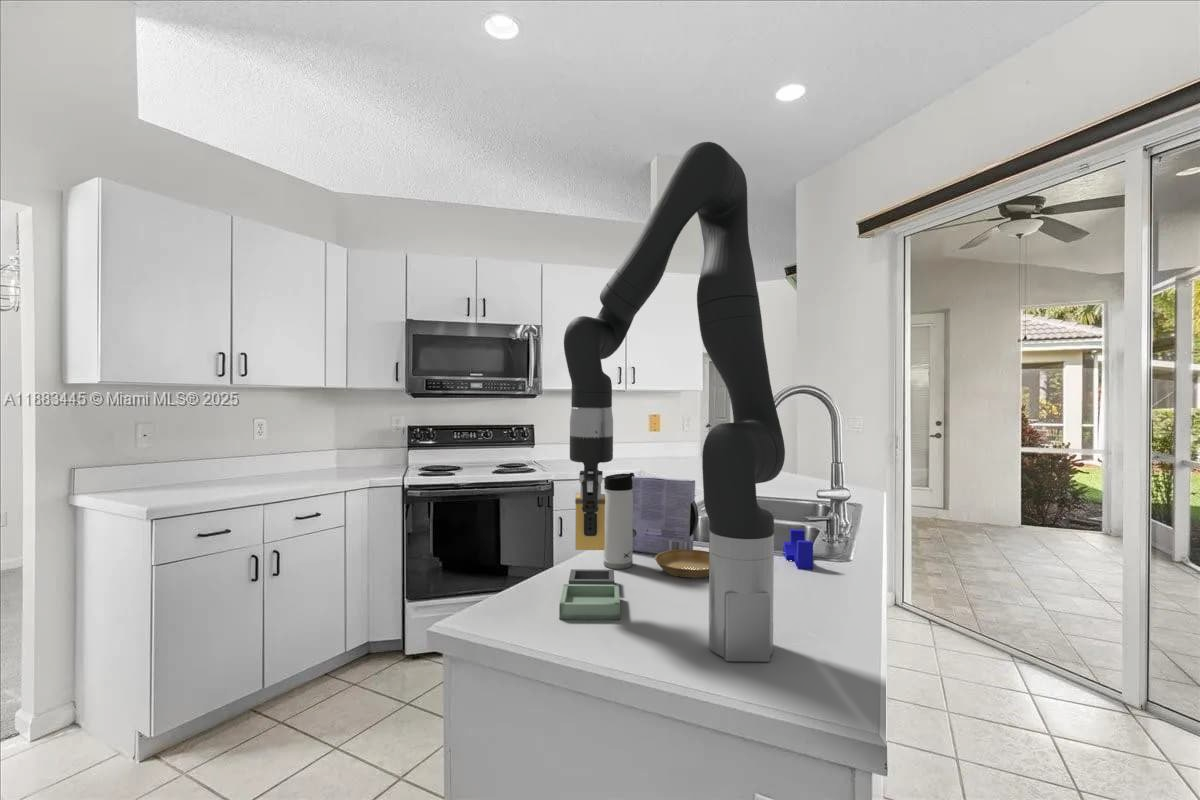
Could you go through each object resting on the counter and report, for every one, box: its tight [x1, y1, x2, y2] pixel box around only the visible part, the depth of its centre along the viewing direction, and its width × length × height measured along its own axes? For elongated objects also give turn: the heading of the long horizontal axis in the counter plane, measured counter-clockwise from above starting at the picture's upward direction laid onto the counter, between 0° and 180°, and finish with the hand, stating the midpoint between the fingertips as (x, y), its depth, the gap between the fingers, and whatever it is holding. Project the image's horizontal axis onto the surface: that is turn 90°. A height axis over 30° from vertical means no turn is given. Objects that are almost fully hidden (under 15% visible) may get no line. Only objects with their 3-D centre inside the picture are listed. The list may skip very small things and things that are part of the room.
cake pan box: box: [632, 474, 699, 555], centre depth 138 cm, size 19×5×18 cm, turn 70°
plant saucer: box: [654, 549, 709, 579], centre depth 124 cm, size 15×15×3 cm
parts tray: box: [558, 583, 621, 621], centre depth 102 cm, size 10×10×2 cm
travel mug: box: [603, 472, 635, 570], centre depth 127 cm, size 6×7×20 cm
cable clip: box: [782, 528, 814, 571], centre depth 131 cm, size 12×4×6 cm, turn 170°
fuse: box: [574, 493, 605, 551], centre depth 102 cm, size 4×5×9 cm
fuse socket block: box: [568, 568, 615, 585], centre depth 112 cm, size 7×8×2 cm
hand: (590, 532), depth 102 cm, fingers closed on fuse, 3 cm apart
